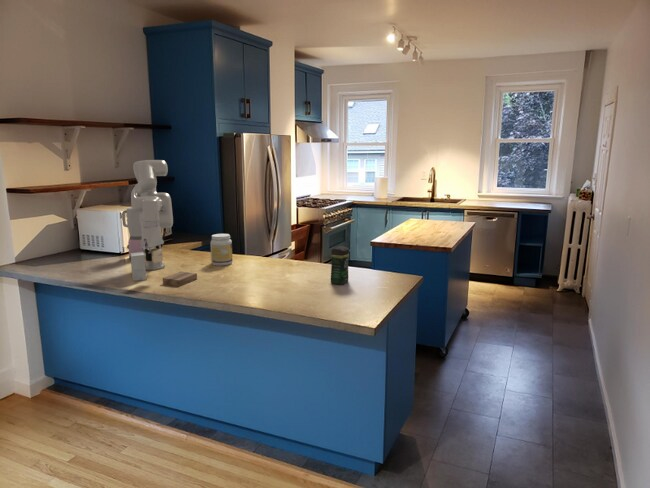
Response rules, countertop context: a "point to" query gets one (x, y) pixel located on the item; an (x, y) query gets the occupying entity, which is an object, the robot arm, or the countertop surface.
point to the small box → (138, 266)
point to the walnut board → (179, 278)
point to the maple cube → (155, 255)
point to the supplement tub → (221, 249)
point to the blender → (133, 230)
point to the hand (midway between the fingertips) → (153, 258)
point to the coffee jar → (339, 265)
